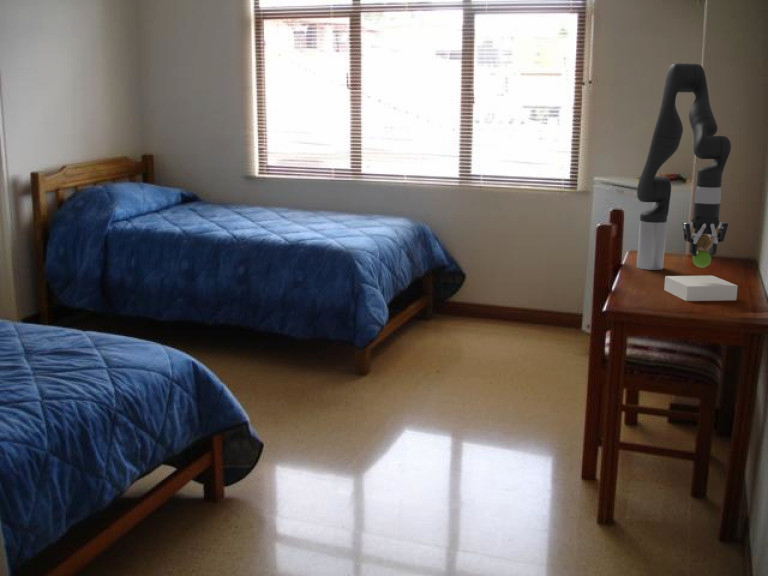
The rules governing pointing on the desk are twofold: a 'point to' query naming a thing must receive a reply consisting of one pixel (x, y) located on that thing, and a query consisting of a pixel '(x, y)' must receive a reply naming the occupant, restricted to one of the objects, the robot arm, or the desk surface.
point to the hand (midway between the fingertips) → (702, 255)
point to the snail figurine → (703, 251)
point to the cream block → (700, 288)
